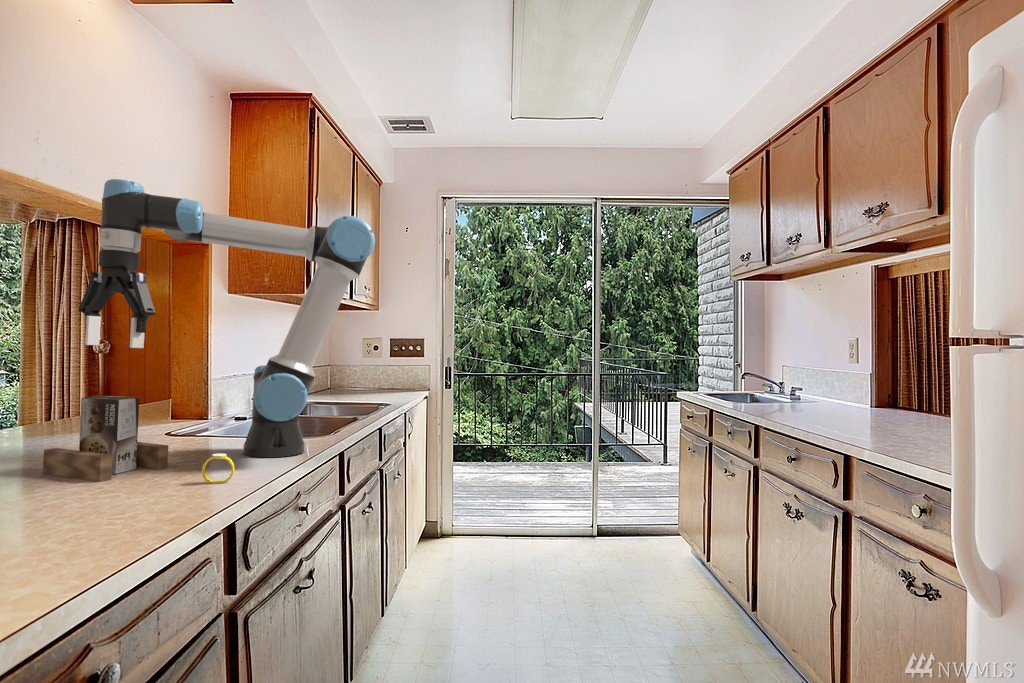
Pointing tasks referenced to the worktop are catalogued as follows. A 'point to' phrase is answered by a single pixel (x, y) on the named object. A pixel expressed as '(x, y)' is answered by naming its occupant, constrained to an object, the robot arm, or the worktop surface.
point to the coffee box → (111, 429)
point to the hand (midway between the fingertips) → (114, 346)
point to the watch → (218, 456)
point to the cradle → (99, 462)
